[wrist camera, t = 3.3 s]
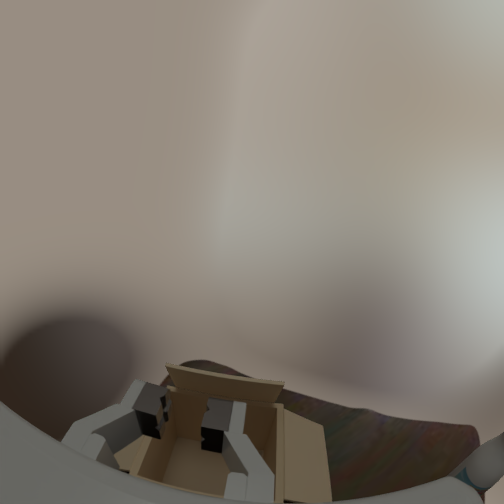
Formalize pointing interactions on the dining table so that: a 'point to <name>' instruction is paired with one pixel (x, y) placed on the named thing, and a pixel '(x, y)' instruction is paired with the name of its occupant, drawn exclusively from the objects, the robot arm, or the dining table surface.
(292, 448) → the carton
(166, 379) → the dining table surface
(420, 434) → the dining table surface
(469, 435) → the dining table surface
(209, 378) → the flap
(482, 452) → the milk bottle
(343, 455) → the dining table surface
